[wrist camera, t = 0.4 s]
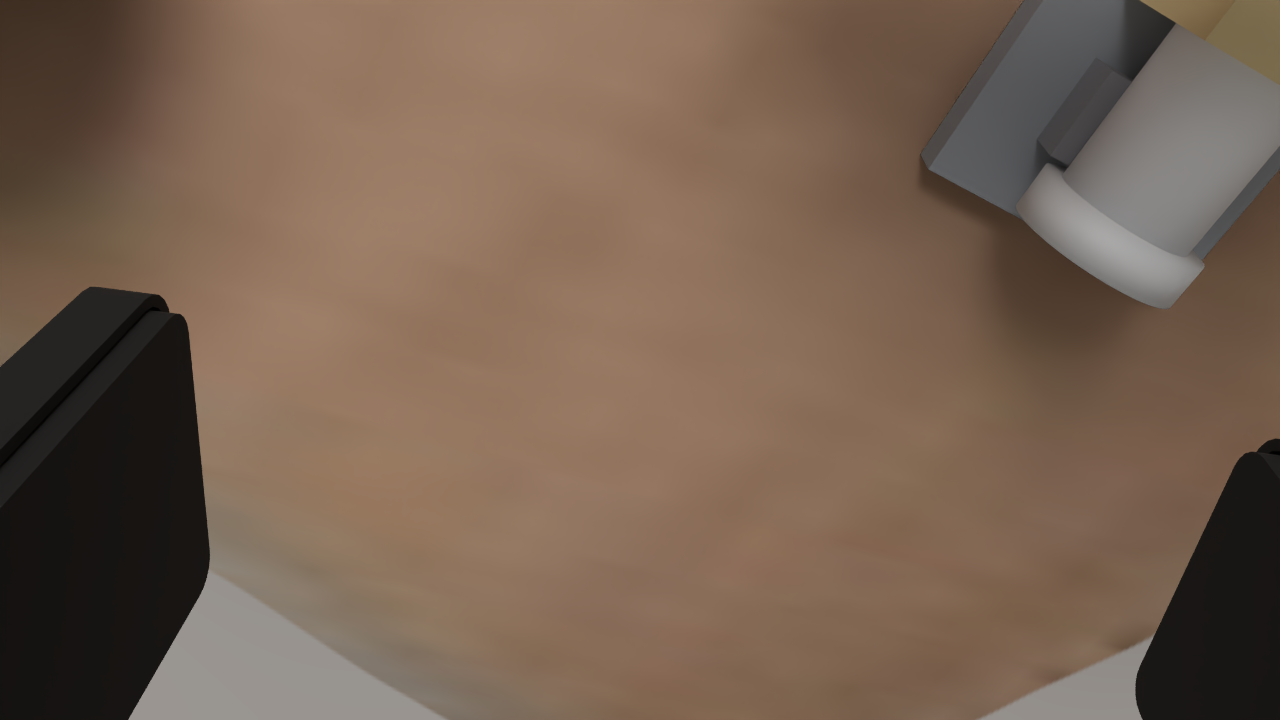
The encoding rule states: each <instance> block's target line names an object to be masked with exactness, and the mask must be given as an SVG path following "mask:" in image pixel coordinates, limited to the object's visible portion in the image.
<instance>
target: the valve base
mask: <svg viewBox="0 0 1280 720" xmlns="http://www.w3.org/2000/svg"><path fill="white" fill-rule="evenodd" d="M921 156H922V158H923V160H924V162H925V164H926V166H927V168H928V169H929V170H931V171H932V172H934V173H936V174H938V175H940V176H942V177H944V178H945V179H947V180H949V181H951V182H953V183H955V184H957V185H958V186H960V187H962V188H964V189H966V190H968V191H970V192H971V193H973V194H975V195H977V196H979V197H981V198H983V199H985V200H986V201H988V202H990V203H992V204H994V205H996V206H998V207H999V208H1001V209H1003V210H1005V211H1007V212H1009V213H1011V214H1012V215H1014V216H1016V217H1018V218H1020V219H1022V220H1024V221H1025V222H1026V223H1027V224H1028V225H1029V226H1030V227H1031V228H1032V229H1033V230H1034V231H1035V232H1036V233H1037V234H1038V235H1039V236H1040V237H1041V238H1043V239H1044V240H1045V241H1046V242H1047V243H1048V244H1050V245H1051V246H1052V247H1053V248H1055V249H1056V250H1057V251H1058V252H1060V253H1061V254H1062V255H1064V256H1065V257H1066V258H1068V259H1069V260H1071V261H1072V262H1073V263H1075V264H1076V265H1078V266H1079V267H1081V268H1082V269H1084V270H1085V271H1087V272H1088V273H1090V274H1091V275H1093V276H1094V277H1096V278H1097V279H1099V280H1101V281H1102V282H1104V283H1106V284H1107V285H1109V286H1111V287H1113V288H1114V289H1116V290H1118V291H1120V292H1122V293H1123V294H1125V295H1127V296H1129V297H1131V298H1133V299H1136V300H1138V301H1140V302H1142V303H1145V304H1147V305H1150V306H1153V307H1156V308H1160V309H1169V308H1170V307H1171V306H1172V305H1173V304H1174V303H1175V302H1176V300H1177V299H1178V298H1179V297H1180V296H1181V295H1182V293H1183V292H1184V291H1185V290H1186V289H1187V288H1188V286H1189V285H1190V284H1191V283H1192V282H1193V281H1194V279H1195V278H1196V277H1197V276H1198V275H1199V274H1200V272H1201V271H1202V270H1203V269H1204V268H1205V265H1204V263H1203V262H1202V260H1203V259H1204V257H1205V256H1206V255H1207V254H1208V253H1209V251H1210V250H1211V249H1212V248H1213V247H1214V246H1215V244H1216V243H1217V242H1218V241H1219V240H1220V239H1221V237H1222V236H1223V235H1224V234H1225V233H1226V232H1227V230H1228V229H1229V228H1230V227H1231V226H1232V224H1233V223H1234V222H1235V221H1236V220H1237V219H1238V217H1239V216H1240V215H1241V214H1242V213H1243V212H1244V210H1245V209H1246V208H1247V207H1248V206H1249V205H1250V203H1251V202H1252V201H1253V200H1254V199H1255V197H1256V196H1257V195H1258V194H1259V193H1260V192H1261V190H1262V189H1263V188H1264V187H1265V186H1266V185H1267V183H1268V182H1269V181H1270V180H1271V179H1272V178H1273V176H1274V175H1275V174H1276V173H1277V172H1278V171H1279V169H1280V0H1024V1H1023V3H1022V4H1021V6H1020V7H1019V9H1018V10H1017V12H1016V13H1015V15H1014V16H1013V18H1012V19H1011V21H1010V22H1009V24H1008V25H1007V26H1006V28H1005V29H1004V31H1003V32H1002V34H1001V35H1000V37H999V38H998V40H997V41H996V43H995V44H994V46H993V47H992V49H991V50H990V52H989V53H988V55H987V56H986V58H985V59H984V61H983V62H982V64H981V65H980V67H979V68H978V70H977V71H976V73H975V74H974V75H973V77H972V78H971V80H970V81H969V83H968V84H967V86H966V87H965V89H964V90H963V92H962V93H961V95H960V96H959V98H958V99H957V101H956V102H955V104H954V105H953V107H952V108H951V110H950V111H949V113H948V114H947V116H946V117H945V119H944V120H943V121H942V123H941V124H940V126H939V127H938V129H937V130H936V132H935V133H934V135H933V136H932V138H931V139H930V141H929V142H928V144H927V145H926V147H925V148H924V150H923V151H922V153H921Z"/></svg>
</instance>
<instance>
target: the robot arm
mask: <svg viewBox="0 0 1280 720" xmlns="http://www.w3.org/2000/svg"><path fill="white" fill-rule="evenodd" d="M209 561H210V548H209V538H208V528H207V517H206V507H205V497H204V486H203V476H202V465H201V455H200V445H199V434H198V424H197V414H196V403H195V393H194V382H193V372H192V362H191V351H190V341H189V332H188V326H187V323H186V320H185V318H184V317H183V316H182V315H181V314H175V313H169V309H168V306H167V304H166V302H165V300H164V299H163V298H162V297H161V296H160V295H156V294H148V293H140V292H133V291H125V290H117V289H109V288H101V287H89V288H88V289H86V290H84V291H83V292H81V293H80V294H79V295H78V296H77V297H76V298H75V299H74V300H73V301H72V302H71V303H69V304H68V305H67V306H66V307H65V308H64V309H63V310H62V311H61V312H60V313H59V314H57V315H56V316H55V317H54V318H53V319H52V320H51V321H50V322H49V323H48V324H47V325H46V326H44V327H43V328H42V329H41V330H40V331H39V332H38V333H37V334H36V335H35V336H34V337H32V338H31V339H30V340H29V341H28V342H27V343H26V344H25V345H24V346H23V347H22V348H20V349H19V350H18V351H17V352H16V353H15V354H14V355H13V356H12V357H11V358H10V359H8V360H7V361H6V362H5V363H4V364H3V365H2V366H1V367H0V720H128V719H129V717H130V715H131V714H132V712H133V710H134V708H135V707H136V705H137V703H138V702H139V700H140V698H141V696H142V695H143V693H144V691H145V689H146V688H147V686H148V684H149V682H150V681H151V679H152V677H153V676H154V674H155V672H156V670H157V669H158V667H159V665H160V663H161V662H162V660H163V658H164V656H165V655H166V653H167V651H168V650H169V648H170V646H171V644H172V643H173V641H174V639H175V638H176V636H177V634H178V632H179V630H180V629H181V627H182V625H183V624H184V622H185V620H186V618H187V617H188V615H189V613H190V611H191V610H192V608H193V606H194V604H195V603H196V601H197V599H198V598H199V596H200V594H201V592H202V590H203V588H204V585H205V581H206V578H207V574H208V569H209ZM1136 701H1137V706H1138V709H1139V712H1140V715H1141V717H1142V719H1143V720H1280V439H1273V440H1270V441H1267V442H1266V443H1265V444H1263V445H1262V446H1261V447H1260V448H1259V449H1258V451H1257V452H1249V453H1245V454H1244V455H1243V456H1242V457H1241V458H1240V459H1239V460H1238V462H1237V463H1236V465H1235V466H1234V468H1233V470H1232V473H1231V475H1230V477H1229V479H1228V481H1227V483H1226V485H1225V487H1224V490H1223V492H1222V494H1221V496H1220V498H1219V500H1218V502H1217V504H1216V506H1215V509H1214V511H1213V513H1212V515H1211V517H1210V519H1209V521H1208V523H1207V525H1206V528H1205V530H1204V532H1203V534H1202V536H1201V538H1200V540H1199V542H1198V545H1197V547H1196V549H1195V551H1194V553H1193V555H1192V557H1191V559H1190V561H1189V564H1188V566H1187V568H1186V570H1185V572H1184V574H1183V576H1182V578H1181V580H1180V583H1179V585H1178V587H1177V589H1176V591H1175V593H1174V595H1173V597H1172V600H1171V602H1170V604H1169V606H1168V608H1167V610H1166V612H1165V614H1164V616H1163V619H1162V621H1161V623H1160V625H1159V627H1158V629H1157V631H1156V633H1155V635H1154V638H1153V640H1152V642H1151V644H1150V646H1149V648H1148V650H1147V652H1146V655H1145V657H1144V659H1143V661H1142V663H1141V665H1140V668H1139V670H1138V673H1137V678H1136Z"/></svg>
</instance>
